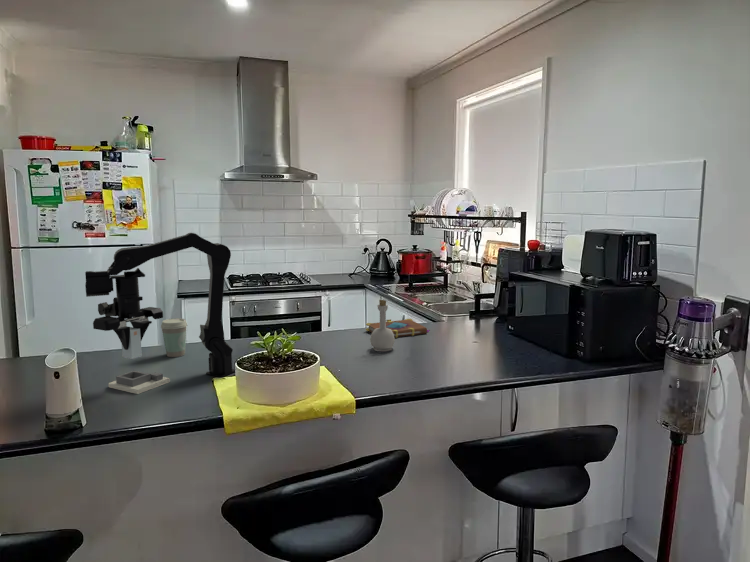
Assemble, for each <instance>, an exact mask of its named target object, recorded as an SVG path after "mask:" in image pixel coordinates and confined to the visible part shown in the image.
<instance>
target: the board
mask: <svg viewBox="0 0 750 562" xmlns="http://www.w3.org/2000/svg"><path fill="white" fill-rule="evenodd" d="M115 379H116V380H113V381H111V382H108V388H111V389H115V390H119V391H123V392H127V393H131V394H135V395H139V394H143V393H145V392H147V391H151V390H153V389H155V388H158V387H161V386H162V385H166V384H169V383H170V382H171V379H170V377H166V376H164V374H163V373H160V372H152V373H147V372H144V371H138V370H131V371H128V372H126V373H122V374H120V375H116V376H115Z"/></svg>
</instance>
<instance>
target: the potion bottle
mask: <svg viewBox="0 0 750 562" xmlns="http://www.w3.org/2000/svg"><path fill="white" fill-rule="evenodd" d="M378 301H379V302H378V303H379V304H377V305H376V306H377V310H378V311H379V322H380V328H377V329H375V330H374V331H373V332H372V333H371V334H370V339H369V341H370V345H371V347H372V349H373V350H374V351H375V352H376V351H377V352H381V353H382V352H390V351H392V350H393V347H394V345H395V340H396V339H395V337H394V334H393V332H392V330H391V329H388V328H386V322H387V321H386V320H387V319H386V318H387V311H388V309H389V305H388V304H387V300H385V299H379V300H378Z"/></svg>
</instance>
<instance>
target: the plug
mask: <svg viewBox="0 0 750 562" xmlns="http://www.w3.org/2000/svg"><path fill="white" fill-rule="evenodd" d="M129 327H130V338H129V348H128V350H125V349H124V347H123V345H122V344H121V352H122V353H121V355H122V358H125V359H131V360H134V359H137V358H140V357H143V354H142V353H143V352H142V341H141V336H140V329H139V328H133V326H132V327H131V326H129Z"/></svg>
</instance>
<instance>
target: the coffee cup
mask: <svg viewBox="0 0 750 562" xmlns="http://www.w3.org/2000/svg"><path fill="white" fill-rule="evenodd" d="M187 327H188V322H187V320H186V319H185V318H180V317H179V318H167V319H164V320H162V322H161V324H160V328H161V332H162V337H163V343H164V347H165V352H166V353H165V354H166V356H167V357H169V358H179V357H182V356H184V355H185V354H186V344H187V343H186V341H187Z"/></svg>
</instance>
